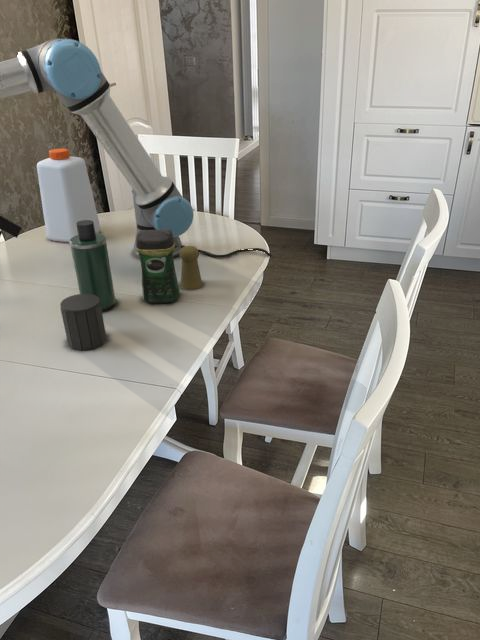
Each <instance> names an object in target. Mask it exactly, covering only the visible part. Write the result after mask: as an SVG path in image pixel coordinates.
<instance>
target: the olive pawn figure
mask: <svg viewBox="0 0 480 640" xmlns="http://www.w3.org/2000/svg"><path fill="white" fill-rule="evenodd" d="M184 246H185V247H183V248H181V249H180V252H179V255H178V256H179V258H180V259H181V267H180V268H181V270H180V288H181V289H184V290H187V291H188V290H189V291H190V290H197V289H200V288H201V287H202V286H203V282H202V276H201V271H200V266H199V262H198V258H199V257H200V255H199V253H200V252H198V249H199V248H197V247H196V246H195V245H194V246H193V245H184Z"/></svg>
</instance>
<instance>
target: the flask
mask: <svg viewBox="0 0 480 640" xmlns="http://www.w3.org/2000/svg"><path fill="white" fill-rule="evenodd" d="M76 226H77V231H78V235H76V236H74V237H72V238H71V239H70V243H69V245H70V251H71V255H72V261H73V267H74V270H75V275H76V281H77V287H78V292H79V294H92V295H96V296H97V297H99V299H100V304H101V309H102V313H105V312H108V311H110V310H113V309H114V308H115V307H116V306H117V300H116V295H115V289H114V283H113V282H114V281H113V277H112V269H111V263H110V257H109V250H108V245H107V237H106V236H105V235H104V234H102V233H100V232H99V233H95V228H94V222H93V221H91V220H82V221H79V222H77V223H76Z"/></svg>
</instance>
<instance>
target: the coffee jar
mask: <svg viewBox="0 0 480 640" xmlns="http://www.w3.org/2000/svg"><path fill="white" fill-rule="evenodd" d="M136 233H137V232H136ZM135 237H136V250H137V252H138V254H139V256H140V258H139V260H140V268H141V292H142V293H141V294H142V299H143V301H144V302H146V303H148V304H163V303H164V304H165V303H168V304H169V303H173V302H175V301H177V300H178V299H179V297H180V293H181V292H180V286H179V281H178V276H177V272H176V266H175V261H174V257H173V251H174V248H175V242H174V238H173V234H172V231H171V230H170V229H166V230H139V232H138V233H137V236H136V235H135Z"/></svg>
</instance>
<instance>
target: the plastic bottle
mask: <svg viewBox="0 0 480 640" xmlns="http://www.w3.org/2000/svg"><path fill="white" fill-rule="evenodd" d="M48 156H49V157H48V158H45V159H42V160H40V161H38V162H37V164H36V171H37V172H36V173H37V179H38V184H39V191H40V199H41V200H40V201H41V205H42V206H41V207H42V213H43V220H44V227H45V235H46V238H48V239H49V240H50V241H53V242H54V241H55V242H62V243H69V244H70V239H71V238H72V237H74V236H76V235H78V231H77V226H76V223H77V222H79V221H82V220H91V221H93V222H94V228H95V233H99V234H100V232H101V230H102V229H101V223H100V218H99V215H98V211H97V208H96V203H95V199H94V194H93V190H92V187H91V182H90V178H89V177H90V176H89V173H88V168H87V165H86V161H85V159H84V158H82V157H79V156H71V155H70V150H69V149H67V148H53V149H50V150H49V151H48Z"/></svg>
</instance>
